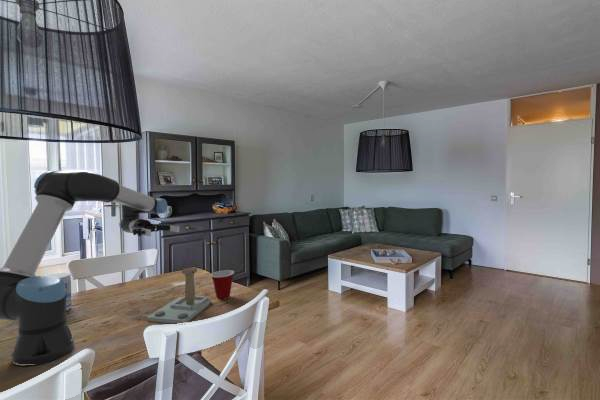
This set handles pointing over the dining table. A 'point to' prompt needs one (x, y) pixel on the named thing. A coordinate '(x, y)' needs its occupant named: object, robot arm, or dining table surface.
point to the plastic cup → (222, 283)
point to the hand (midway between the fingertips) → (164, 231)
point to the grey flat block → (180, 310)
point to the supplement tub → (67, 281)
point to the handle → (189, 284)
